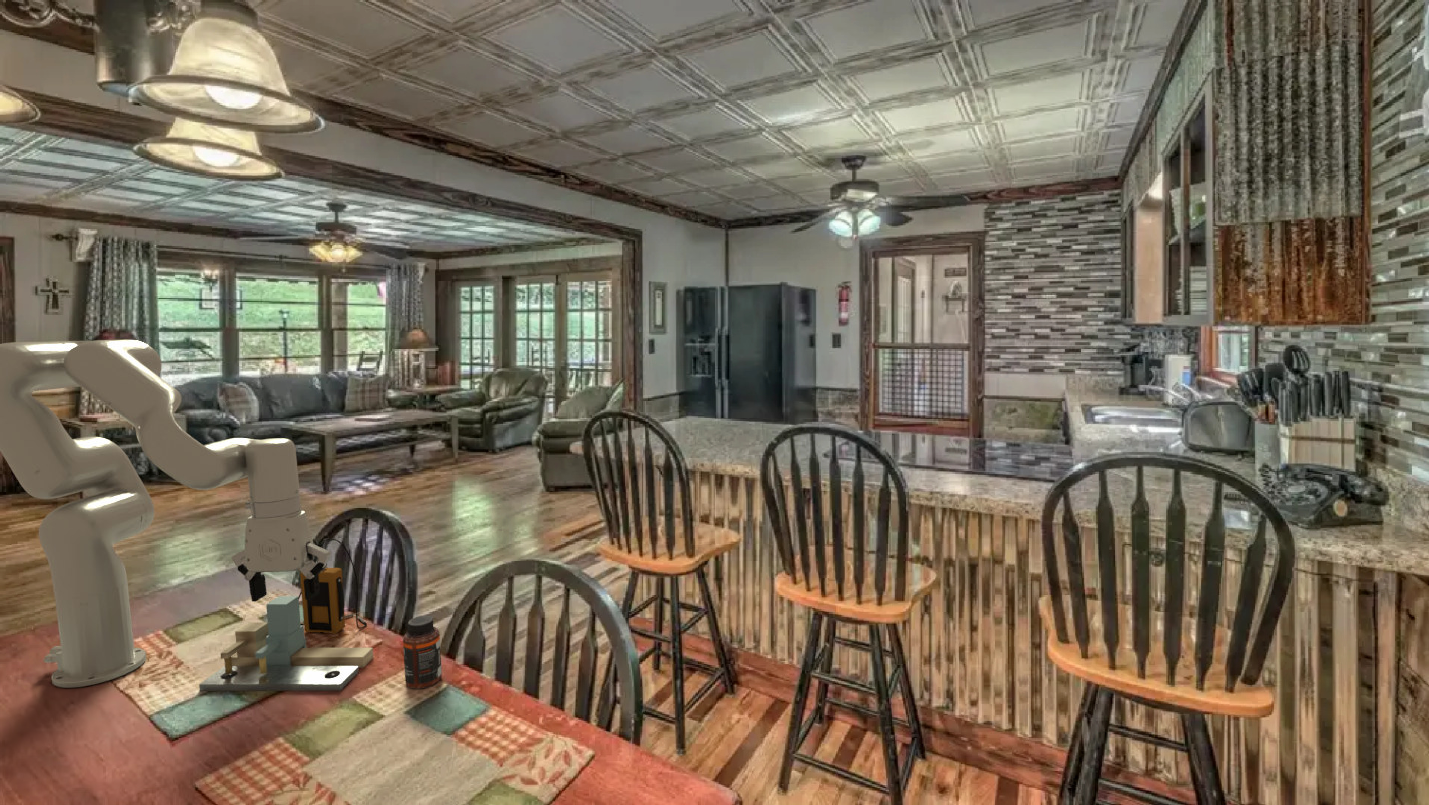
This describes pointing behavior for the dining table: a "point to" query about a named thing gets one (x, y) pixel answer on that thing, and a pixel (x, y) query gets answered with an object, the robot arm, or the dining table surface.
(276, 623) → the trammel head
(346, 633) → the dining table surface
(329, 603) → the multimeter
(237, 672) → the flange plate
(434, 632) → the supplement bottle
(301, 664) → the trammel rail
